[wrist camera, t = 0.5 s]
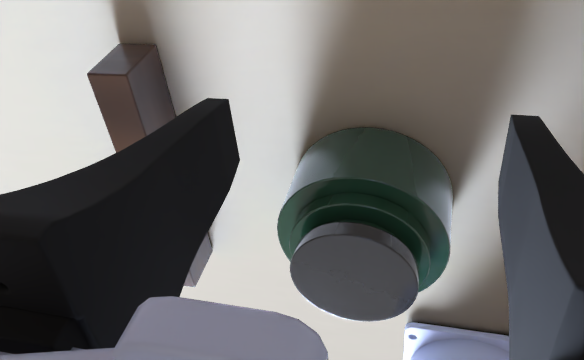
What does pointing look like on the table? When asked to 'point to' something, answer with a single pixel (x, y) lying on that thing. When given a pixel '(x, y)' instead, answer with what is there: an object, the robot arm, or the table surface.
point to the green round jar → (366, 223)
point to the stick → (137, 108)
